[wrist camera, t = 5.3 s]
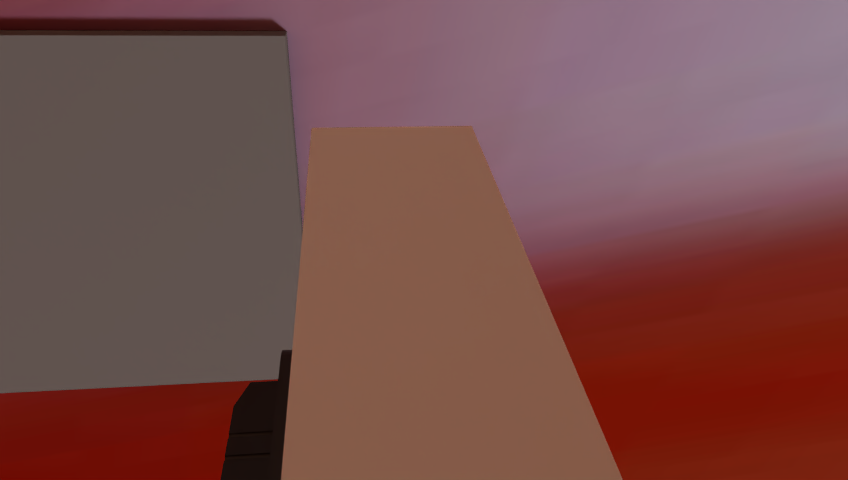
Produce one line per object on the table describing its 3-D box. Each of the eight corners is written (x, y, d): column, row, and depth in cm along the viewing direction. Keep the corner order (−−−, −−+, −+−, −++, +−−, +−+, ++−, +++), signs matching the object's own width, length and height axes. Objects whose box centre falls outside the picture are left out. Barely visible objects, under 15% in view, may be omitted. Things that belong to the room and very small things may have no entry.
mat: (-148, 29, 22) (-159, 35, 21) (286, 31, 23) (285, 35, 23) (4, 383, 30) (-1, 393, 30) (313, 368, 32) (313, 377, 31)
